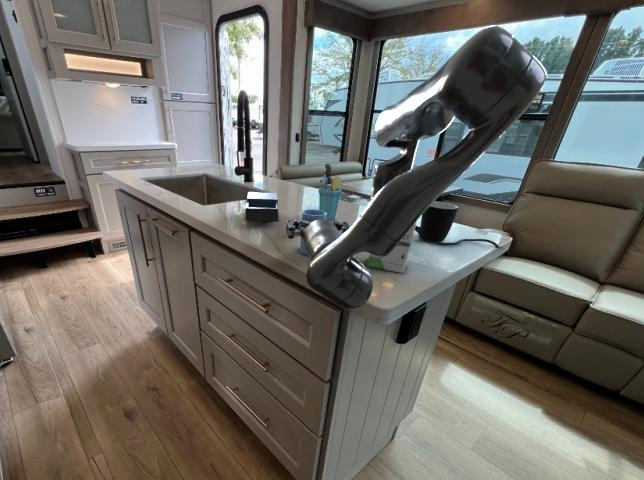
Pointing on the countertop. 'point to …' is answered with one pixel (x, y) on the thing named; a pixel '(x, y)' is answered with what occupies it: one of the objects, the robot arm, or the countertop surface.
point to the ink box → (394, 255)
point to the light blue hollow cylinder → (311, 217)
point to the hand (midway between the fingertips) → (313, 220)
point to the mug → (437, 221)
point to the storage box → (262, 206)
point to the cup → (330, 197)
